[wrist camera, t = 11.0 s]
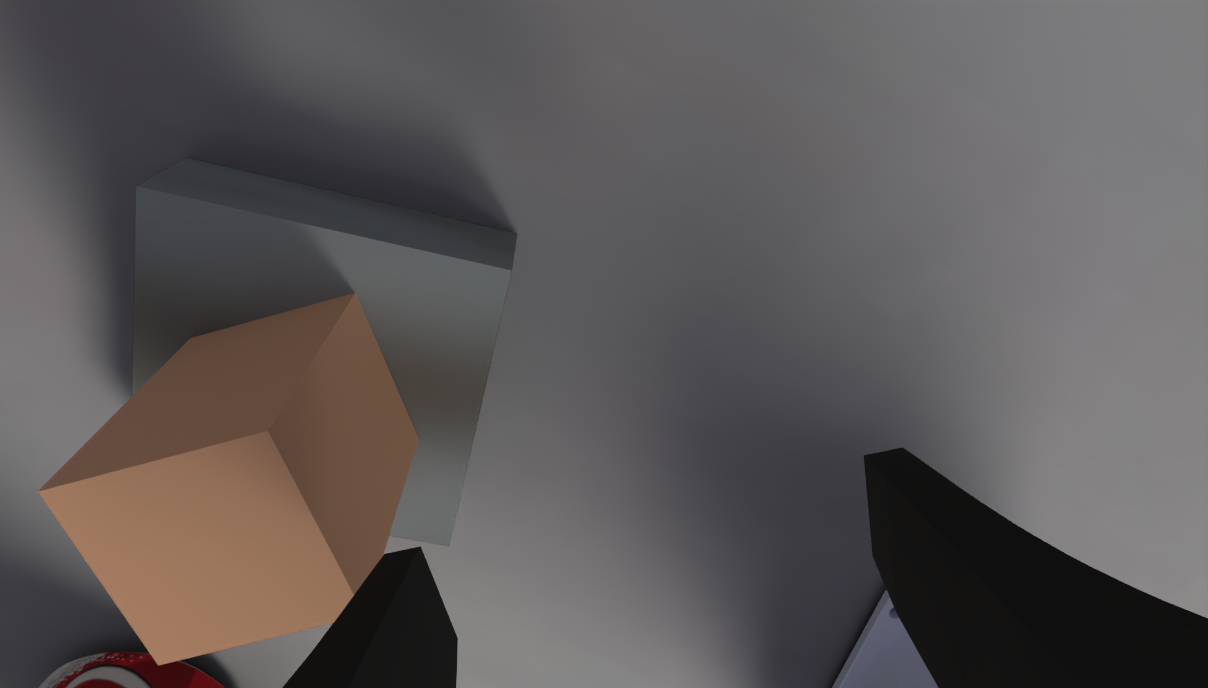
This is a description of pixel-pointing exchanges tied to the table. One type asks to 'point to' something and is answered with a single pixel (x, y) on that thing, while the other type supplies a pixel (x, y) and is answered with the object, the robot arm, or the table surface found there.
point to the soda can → (127, 673)
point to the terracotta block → (243, 482)
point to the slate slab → (331, 297)
